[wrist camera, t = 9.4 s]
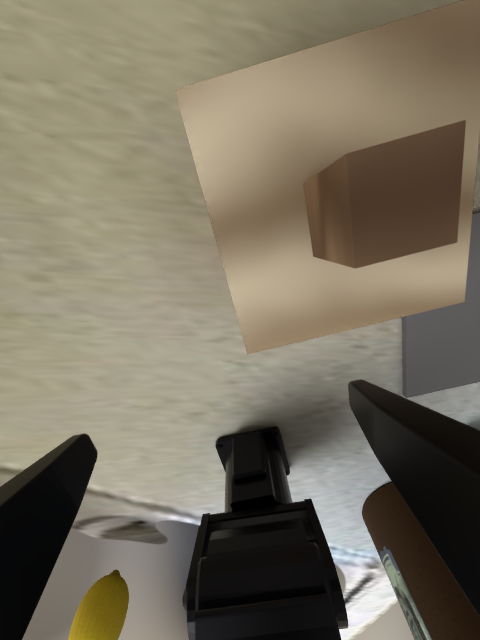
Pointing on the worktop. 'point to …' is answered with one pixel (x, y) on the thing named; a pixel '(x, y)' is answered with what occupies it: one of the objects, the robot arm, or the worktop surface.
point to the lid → (343, 176)
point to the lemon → (102, 610)
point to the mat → (445, 336)
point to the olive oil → (418, 571)
